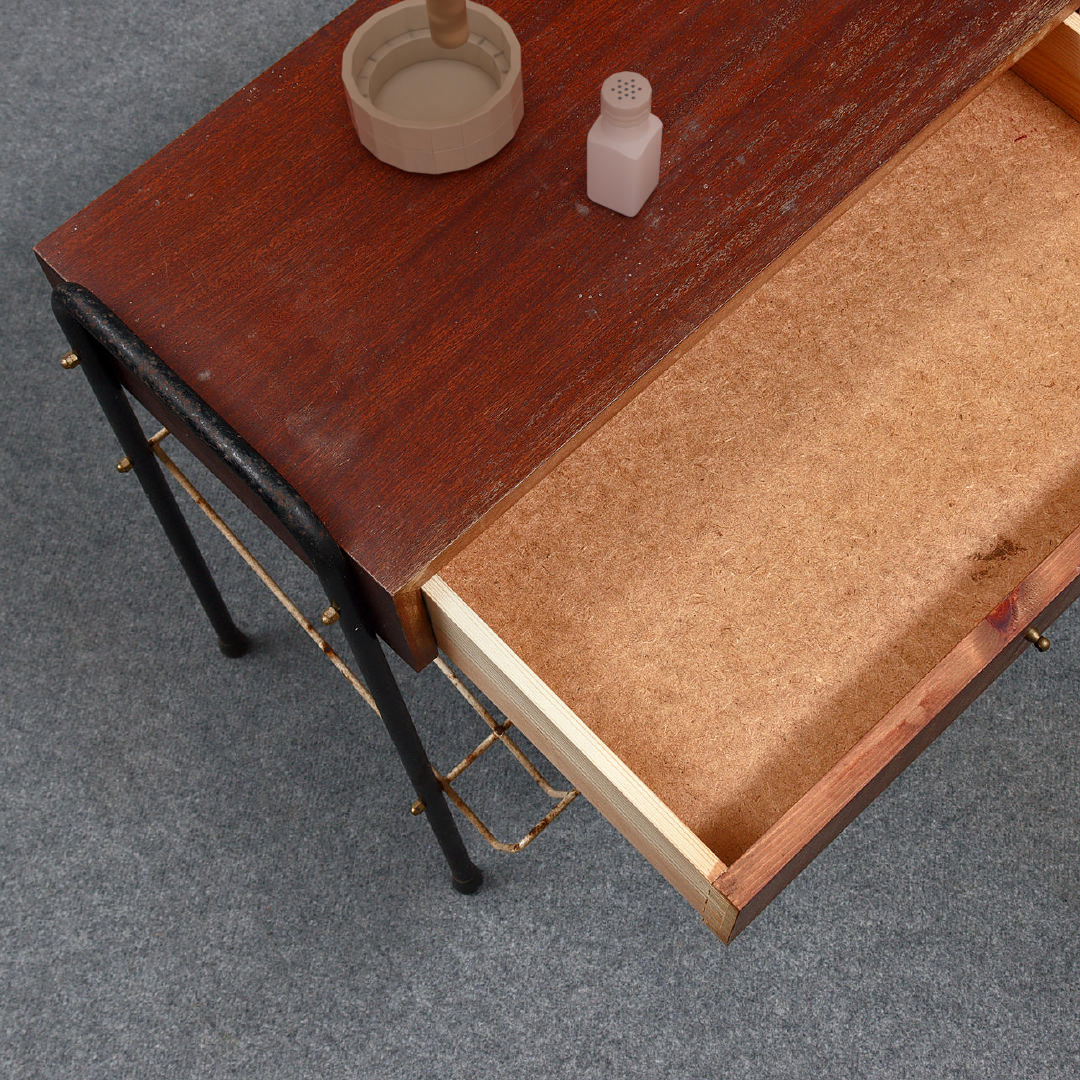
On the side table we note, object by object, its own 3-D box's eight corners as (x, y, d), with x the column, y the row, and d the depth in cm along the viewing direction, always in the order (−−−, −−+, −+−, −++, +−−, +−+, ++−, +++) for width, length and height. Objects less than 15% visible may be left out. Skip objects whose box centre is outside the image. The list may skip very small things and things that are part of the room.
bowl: (349, 183, 89) (337, 132, 85) (358, 53, 95) (346, -2, 90) (525, 177, 89) (521, 125, 85) (523, 46, 95) (519, -9, 90)
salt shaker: (611, 162, 89) (614, 57, 81) (661, 183, 88) (669, 79, 80) (583, 201, 88) (583, 98, 79) (634, 223, 87) (639, 122, 78)
